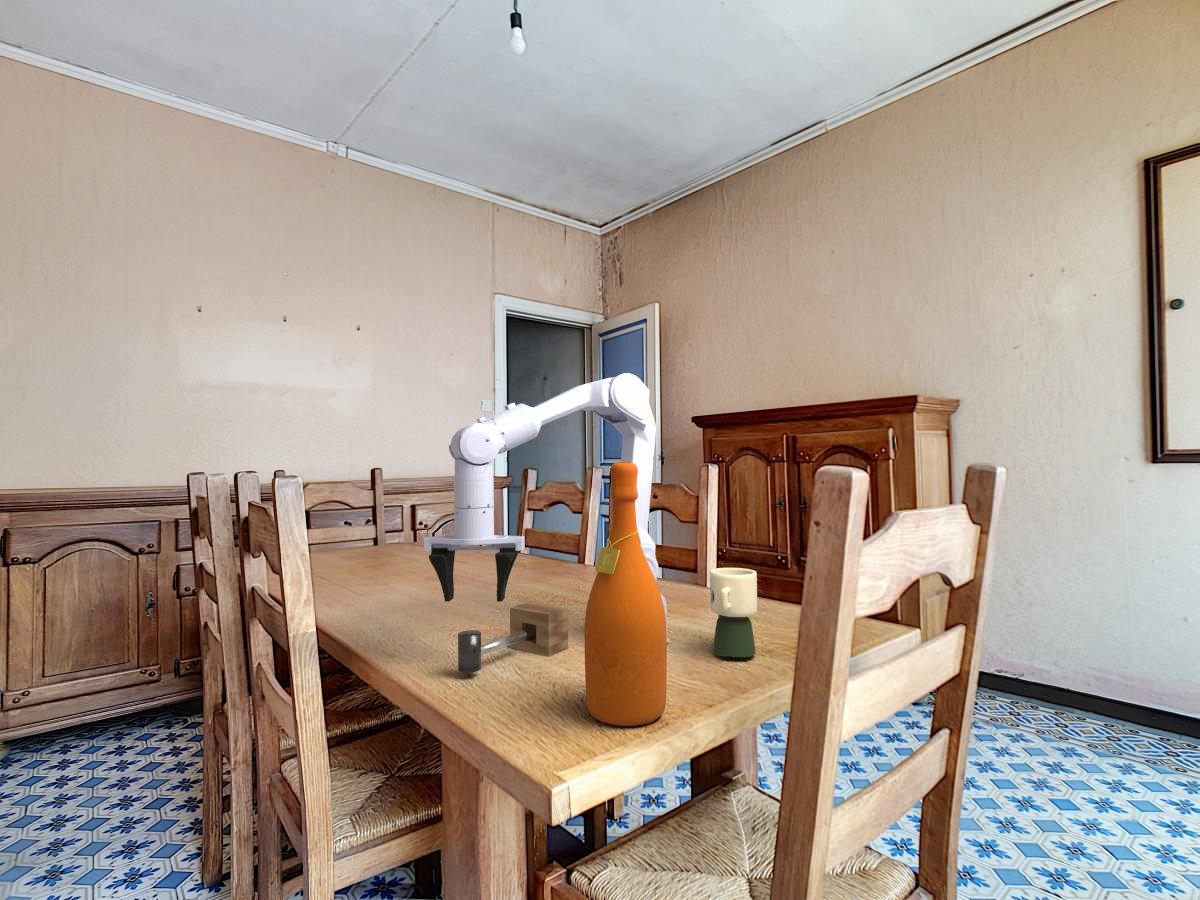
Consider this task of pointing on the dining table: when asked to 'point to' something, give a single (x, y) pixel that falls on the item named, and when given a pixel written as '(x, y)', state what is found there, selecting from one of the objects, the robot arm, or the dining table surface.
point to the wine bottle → (625, 621)
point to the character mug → (733, 610)
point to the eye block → (540, 628)
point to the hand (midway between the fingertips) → (474, 600)
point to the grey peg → (480, 648)
